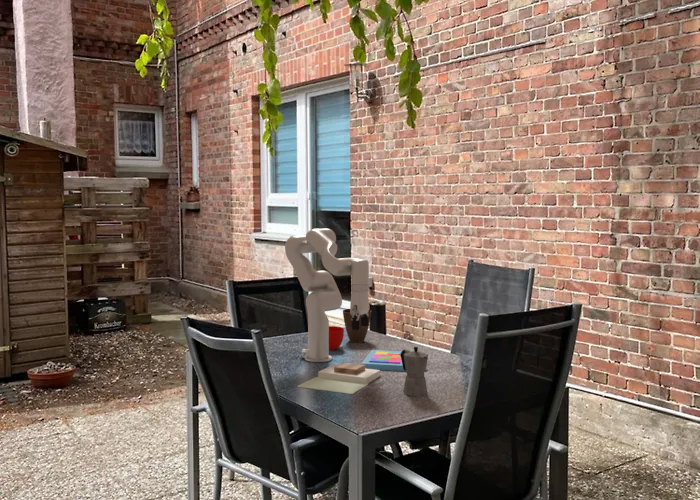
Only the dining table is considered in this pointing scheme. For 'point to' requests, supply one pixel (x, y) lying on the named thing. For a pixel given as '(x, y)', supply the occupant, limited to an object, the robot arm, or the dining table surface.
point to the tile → (349, 368)
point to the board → (350, 375)
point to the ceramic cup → (335, 337)
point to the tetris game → (383, 360)
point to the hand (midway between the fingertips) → (360, 327)
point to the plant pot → (355, 334)
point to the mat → (333, 385)
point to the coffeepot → (414, 372)
